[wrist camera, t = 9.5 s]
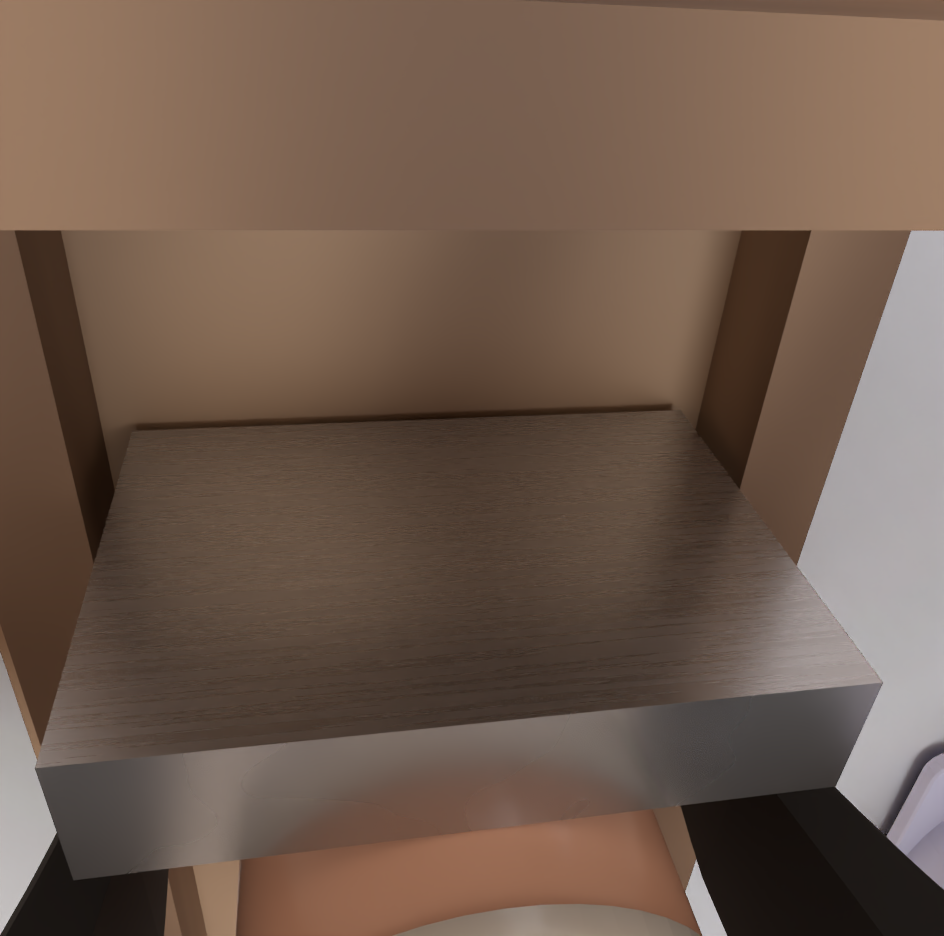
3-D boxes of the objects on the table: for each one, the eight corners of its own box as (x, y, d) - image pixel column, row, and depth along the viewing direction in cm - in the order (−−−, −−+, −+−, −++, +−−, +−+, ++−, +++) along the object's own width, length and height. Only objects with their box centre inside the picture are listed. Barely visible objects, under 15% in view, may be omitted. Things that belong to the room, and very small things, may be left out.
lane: (971, -221, 9) (1704, -333, 5) (646, 879, 21) (755, 1183, 16) (-278, -349, 7) (-1410, -811, 2) (126, 951, 19) (68, 1325, 14)
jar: (593, 490, 13) (840, 984, 7) (554, 726, 16) (706, 1214, 10) (228, 509, 12) (171, 1096, 6) (258, 756, 15) (237, 1313, 9)
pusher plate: (680, 410, 12) (882, 682, 8) (660, 498, 13) (835, 786, 9) (131, 430, 11) (34, 768, 7) (150, 527, 12) (73, 880, 7)
